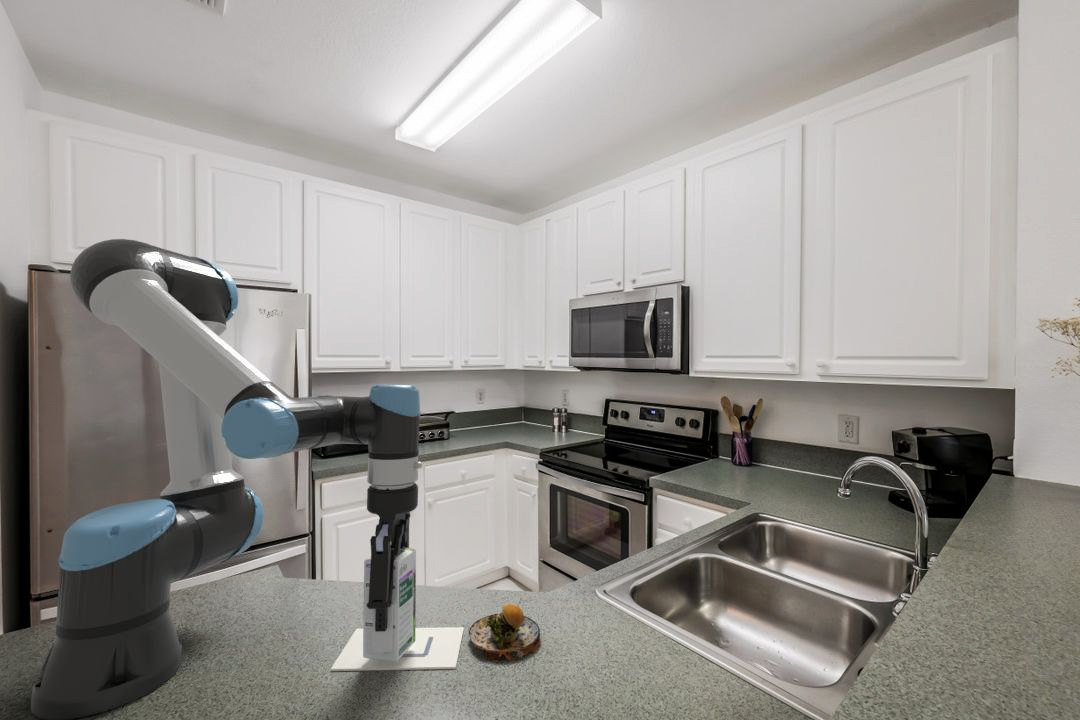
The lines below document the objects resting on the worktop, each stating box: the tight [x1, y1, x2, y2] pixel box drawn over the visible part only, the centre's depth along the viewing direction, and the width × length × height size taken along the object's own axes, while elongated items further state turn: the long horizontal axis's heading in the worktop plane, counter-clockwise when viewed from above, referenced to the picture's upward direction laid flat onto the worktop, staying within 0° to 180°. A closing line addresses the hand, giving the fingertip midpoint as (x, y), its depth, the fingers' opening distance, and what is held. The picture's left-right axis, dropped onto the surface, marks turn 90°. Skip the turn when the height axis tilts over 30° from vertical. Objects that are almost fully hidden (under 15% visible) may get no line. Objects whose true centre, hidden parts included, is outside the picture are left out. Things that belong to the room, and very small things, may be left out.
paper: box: [330, 626, 465, 672], centre depth 72 cm, size 18×11×1 cm, turn 93°
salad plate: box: [468, 596, 541, 662], centre depth 75 cm, size 12×12×8 cm
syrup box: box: [362, 547, 417, 662], centre depth 70 cm, size 6×6×14 cm
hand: (389, 636), depth 70 cm, fingers closed on syrup box, 6 cm apart
